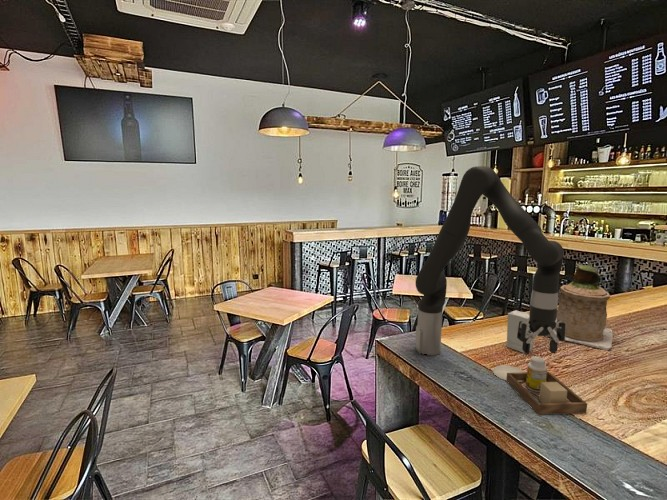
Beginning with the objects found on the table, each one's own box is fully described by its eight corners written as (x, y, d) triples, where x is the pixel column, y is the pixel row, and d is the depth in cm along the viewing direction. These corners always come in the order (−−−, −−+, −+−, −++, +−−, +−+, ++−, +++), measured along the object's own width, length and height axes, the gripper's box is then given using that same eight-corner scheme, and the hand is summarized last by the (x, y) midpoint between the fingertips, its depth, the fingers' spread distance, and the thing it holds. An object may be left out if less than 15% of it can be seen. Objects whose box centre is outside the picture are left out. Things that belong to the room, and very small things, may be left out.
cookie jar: (611, 352, 149) (623, 274, 143) (541, 337, 164) (549, 265, 158) (613, 332, 169) (623, 262, 163) (550, 320, 183) (557, 255, 177)
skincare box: (532, 350, 151) (536, 315, 148) (524, 354, 148) (527, 318, 145) (513, 343, 158) (516, 309, 155) (504, 346, 155) (507, 312, 152)
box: (548, 409, 113) (550, 391, 112) (539, 399, 118) (541, 382, 117) (565, 409, 113) (567, 390, 112) (554, 399, 118) (556, 381, 117)
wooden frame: (537, 414, 110) (538, 405, 110) (506, 380, 129) (507, 372, 128) (586, 412, 111) (587, 403, 110) (548, 379, 129) (548, 371, 129)
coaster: (501, 383, 127) (501, 381, 127) (487, 367, 138) (487, 365, 138) (533, 382, 128) (533, 380, 128) (516, 366, 138) (516, 364, 138)
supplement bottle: (528, 381, 128) (530, 353, 126) (546, 387, 125) (549, 358, 123) (523, 388, 124) (526, 359, 122) (542, 394, 120) (545, 365, 118)
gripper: (528, 309, 115) (524, 358, 118) (573, 307, 115) (568, 357, 118) (515, 301, 122) (511, 348, 125) (558, 300, 123) (553, 347, 126)
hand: (539, 352), depth 122 cm, fingers open, 8 cm apart
